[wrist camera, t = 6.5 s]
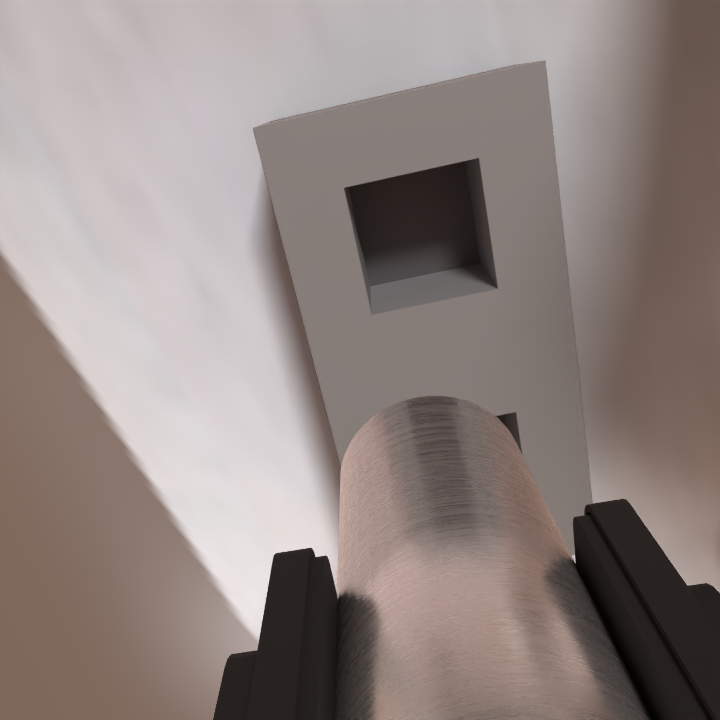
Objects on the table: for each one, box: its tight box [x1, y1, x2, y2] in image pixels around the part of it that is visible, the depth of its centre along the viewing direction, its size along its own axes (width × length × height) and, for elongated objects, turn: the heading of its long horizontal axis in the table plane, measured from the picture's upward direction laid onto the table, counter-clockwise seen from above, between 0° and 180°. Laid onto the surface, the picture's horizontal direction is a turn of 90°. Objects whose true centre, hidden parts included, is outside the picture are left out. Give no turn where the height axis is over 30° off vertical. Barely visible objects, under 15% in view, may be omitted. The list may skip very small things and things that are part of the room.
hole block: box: [253, 61, 593, 555], centre depth 29 cm, size 10×20×5 cm, turn 12°
